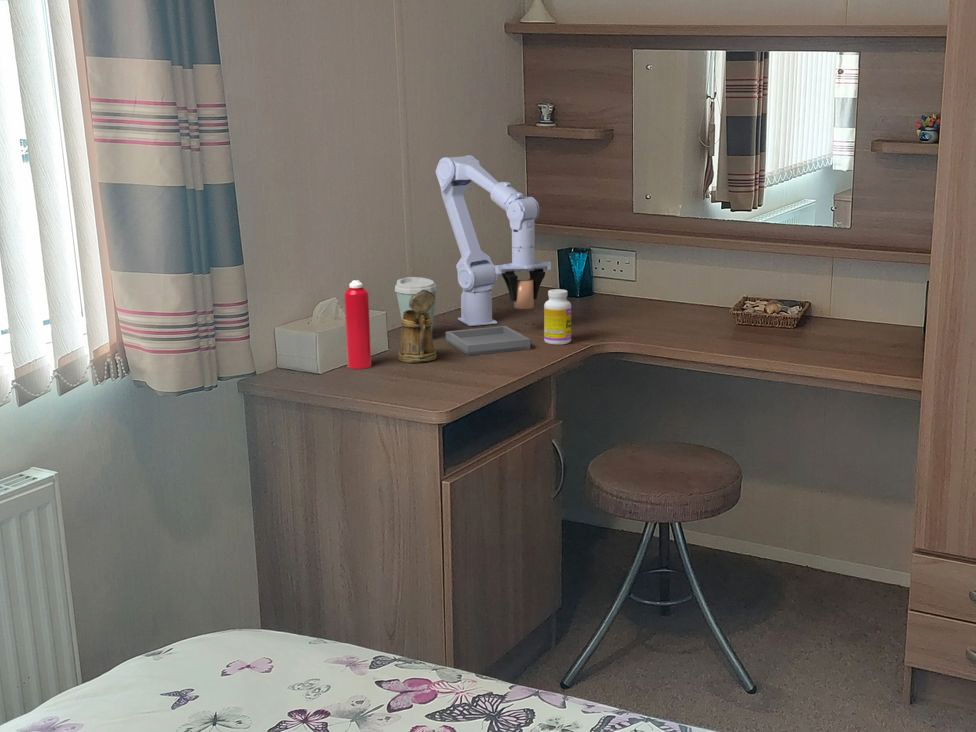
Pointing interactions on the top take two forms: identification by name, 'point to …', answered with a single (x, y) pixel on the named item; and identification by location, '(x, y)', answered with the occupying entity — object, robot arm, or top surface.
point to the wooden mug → (417, 330)
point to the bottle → (357, 326)
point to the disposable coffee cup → (413, 292)
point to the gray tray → (487, 340)
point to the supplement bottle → (557, 318)
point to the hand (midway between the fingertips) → (523, 299)
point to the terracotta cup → (524, 293)
